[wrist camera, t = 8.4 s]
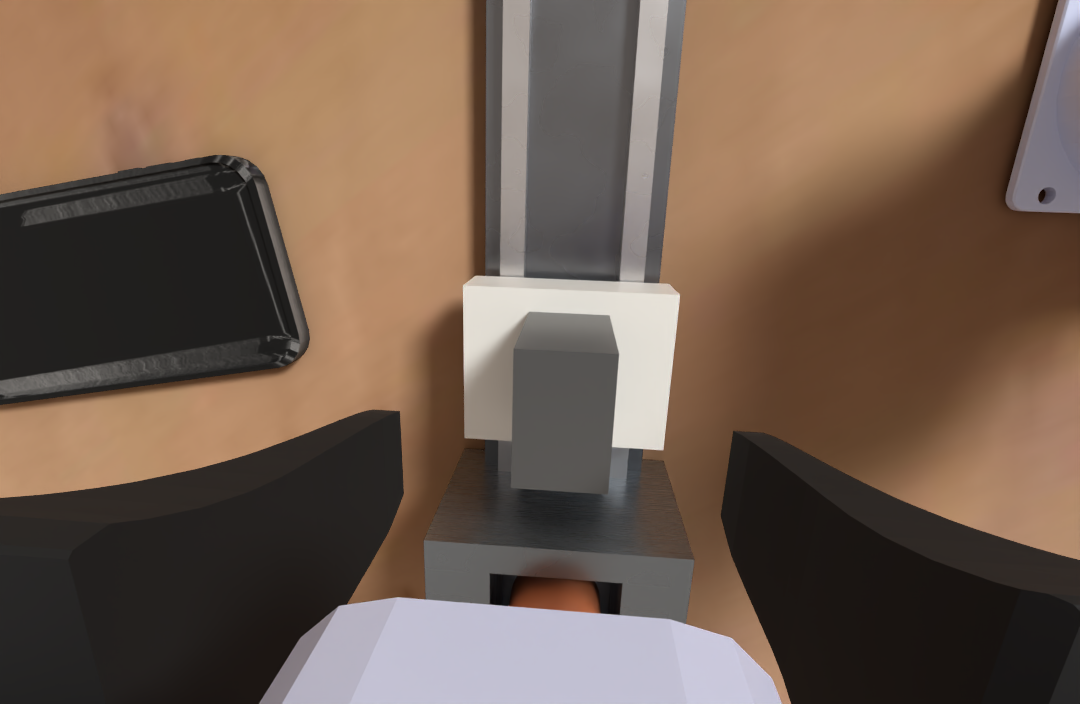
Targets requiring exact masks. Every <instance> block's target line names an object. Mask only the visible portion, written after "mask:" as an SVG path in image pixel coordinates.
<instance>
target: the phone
mask: <svg viewBox="0 0 1080 704" xmlns="http://www.w3.org/2000/svg"><path fill="white" fill-rule="evenodd" d="M309 340H310V336H309V329H308V325H307V322H306V318H305V315H304V311H303V308H302V304H301V301H300V297H299V294H298V290H297V286H296V283H295V279H294V276H293V272H292V269H291V265H290V262H289V258H288V255H287V251H286V247H285V244H284V240H283V237H282V233H281V230H280V226H279V223H278V219H277V216H276V212H275V208H274V205H273V201H272V198H271V194H270V191H269V187H268V184H267V182H266V180H265V177H264V175H263V174H262V172H261V171H260V170H259V169H258V168H257V166H255V165H254V164H253V163H251V162H250V161H248V160H246V159H243V158H240V157H236V156H227V155H213V156H207V157H202V158H194V159H189V160H185V161H180V162H175V163H165V164H159V165H154V166H148V167H146V168H134V169H129V170H123V171H118V173H115V174H109V175H104V176H99V177H93V178H88V179H82V180H77V181H71V182H66V183H60V184H55V185H50V186H44V187H39V188H33V189H28V190H22V191H17V192H12V193H6V194H1V195H0V405H3V404H10V403H18V402H25V401H33V400H40V399H48V398H55V397H63V396H70V395H78V394H85V393H93V392H100V391H108V390H115V389H123V388H130V387H138V386H145V385H153V384H160V383H168V382H175V381H183V380H190V379H198V378H205V377H213V376H220V375H228V374H235V373H243V372H250V371H258V370H265V369H273V368H279V367H283V366H286V365H288V364H290V363H292V362H293V361H295V360H297V359H298V358H300V357H301V356H302V355H303V354H304V353H305V351H306V350H307V348H308V345H309Z"/></svg>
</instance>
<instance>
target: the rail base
mask: <svg viewBox="0 0 1080 704" xmlns="http://www.w3.org/2000/svg"><path fill="white" fill-rule="evenodd" d="M685 10H686V0H486V253H485V276H497V277H520V278H544V279H567V280H590V281H613V282H637V283H659V279H660V269H661V258H662V248H663V238H664V227H665V217H666V207H667V196H668V186H669V176H670V165H671V155H672V144H673V134H674V124H675V113H676V103H677V93H678V82H679V72H680V62H681V51H682V41H683V31H684V20H685ZM642 455H643V449H635V448H619V447H612V452H611V465H610V478H609V491H608V494H593V493H578V492H563V491H548V490H533V489H518V488H511V457H512V441H504V440H487V439H485V450H479V449H464V451H463V454H462V456H461V458H460V460H459V463H458V465H457V467H456V469H455V471H454V474H453V476H452V478H451V480H450V483H449V485H448V487H447V489H446V492H445V494H444V496H443V498H442V500H441V503H440V505H439V507H438V509H437V512H436V514H435V516H434V518H433V521H432V523H431V525H430V527H429V530H428V532H427V534H426V536H425V538H424V564H425V592H426V600H438V601H450V602H463V603H475V604H488V605H500V606H509V601H510V595H511V589H512V585H513V583H514V580H515V579H516V577H517V576H518V575H519V576H532V577H545V578H559V579H572V580H585V581H595V582H596V584H597V586H598V590H599V594H600V611H601V614H612V615H624V616H636V617H649V618H661V619H671V620H674V621H677V622H681V623H684V624H686V619H687V612H688V604H689V597H690V589H691V582H692V575H693V567H694V557H693V553H692V550H691V547H690V544H689V541H688V538H687V534H686V531H685V528H684V525H683V522H682V518H681V515H680V512H679V509H678V506H677V503H676V499H675V496H674V493H673V490H672V487H671V483H670V480H669V477H668V474H667V471H666V468H665V464H664V461H656V460H642Z"/></svg>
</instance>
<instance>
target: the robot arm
mask: <svg viewBox="0 0 1080 704" xmlns="http://www.w3.org/2000/svg"><path fill="white" fill-rule="evenodd" d="M1043 189H1044V190H1045V191H1046V196H1045V198H1044V200H1043V201H1041V202H1039V200H1038V195H1039V193H1040V191H1041V190H1043ZM1005 201H1006V203H1007V206H1008V207H1009V208H1010V209H1012V210H1016V211H1031V212H1061V213H1080V0H1059V1H1058V4H1057V8H1056V12H1055V15H1054V19H1053V23H1052V26H1051V30H1050V34H1049V37H1048V41H1047V45H1046V48H1045V52H1044V56H1043V60H1042V63H1041V67H1040V71H1039V74H1038V78H1037V82H1036V85H1035V89H1034V93H1033V96H1032V100H1031V104H1030V107H1029V111H1028V115H1027V119H1026V122H1025V126H1024V130H1023V133H1022V137H1021V141H1020V144H1019V148H1018V152H1017V155H1016V159H1015V163H1014V166H1013V170H1012V174H1011V178H1010V181H1009V185H1008V189H1007V192H1006V200H1005ZM403 494H404V490H403V469H402V448H401V427H400V411H386V410H369V411H364V412H361V413H358V414H355V415H352V416H349V417H347V418H344V419H341V420H339V421H336V422H334V423H331V424H329V425H326V426H324V427H321V428H319V429H316V430H314V431H311V432H309V433H306V434H304V435H301V436H299V437H296V438H293V439H290V440H288V441H285V442H282V443H279V444H277V445H274V446H271V447H268V448H266V449H263V450H260V451H257V452H254V453H251V454H248V455H245V456H242V457H239V458H235V459H232V460H228V461H225V462H221V463H217V464H214V465H210V466H206V467H203V468H199V469H195V470H190V471H186V472H181V473H176V474H171V475H166V476H162V477H157V478H152V479H147V480H142V481H138V482H132V483H126V484H120V485H113V486H107V487H101V488H93V489H86V490H78V491H70V492H63V493H54V494H44V495H34V496H21V497H9V498H0V704H782V703H781V700H780V698H779V695H778V693H777V690H776V687H775V685H774V682H773V680H772V678H771V677H770V676H769V675H768V674H767V673H766V672H765V671H764V670H763V669H762V668H761V667H760V666H759V665H758V664H757V663H756V662H755V661H754V660H753V659H752V658H751V657H750V656H749V655H748V654H747V653H746V652H745V651H744V650H743V649H742V648H741V647H740V646H739V645H738V644H737V643H736V642H735V641H734V640H733V639H732V638H730V637H727V636H723V635H720V634H717V633H713V632H710V631H707V630H704V629H700V628H697V627H694V626H690V625H687V624H684V623H681V622H677V621H674V620H671V619H661V618H649V617H636V616H624V615H612V614H599V613H587V612H574V611H562V610H550V609H537V608H525V607H512V606H500V605H488V604H475V603H463V602H450V601H438V600H426V599H413V598H401V597H396V598H389V599H382V600H376V601H369V602H362V603H355V604H348V605H347V603H348V601H349V600H350V598H351V596H352V595H353V593H354V591H355V589H356V588H357V586H358V584H359V583H360V581H361V579H362V577H363V576H364V574H365V572H366V571H367V569H368V567H369V566H370V564H371V562H372V560H373V559H374V557H375V555H376V553H377V552H378V550H379V548H380V546H381V545H382V543H383V541H384V539H385V537H386V536H387V534H388V532H389V530H390V527H391V525H392V523H393V520H394V518H395V515H396V513H397V510H398V507H399V505H400V502H401V499H402V497H403ZM721 518H722V522H723V526H724V530H725V534H726V538H727V542H728V545H729V549H730V552H731V556H732V558H733V561H734V563H735V566H736V568H737V570H738V573H739V575H740V577H741V580H742V582H743V584H744V587H745V589H746V591H747V594H748V596H749V598H750V600H751V603H752V605H753V607H754V610H755V612H756V614H757V616H758V619H759V621H760V623H761V626H762V628H763V630H764V632H765V635H766V637H767V639H768V642H769V644H770V646H771V648H772V651H773V653H774V656H775V658H776V661H777V663H778V666H779V669H780V671H781V674H782V676H783V679H784V682H785V686H786V689H787V692H788V695H789V698H790V701H791V704H1080V560H1077V559H1073V558H1069V557H1065V556H1061V555H1058V554H1054V553H1051V552H1047V551H1044V550H1040V549H1037V548H1033V547H1030V546H1026V545H1023V544H1020V543H1017V542H1014V541H1010V540H1007V539H1004V538H1001V537H998V536H995V535H992V534H989V533H986V532H983V531H979V530H976V529H973V528H971V527H968V526H965V525H962V524H959V523H957V522H954V521H951V520H948V519H946V518H943V517H941V516H938V515H936V514H933V513H931V512H928V511H926V510H923V509H921V508H918V507H916V506H913V505H911V504H908V503H906V502H904V501H901V500H899V499H897V498H894V497H892V496H890V495H888V494H886V493H884V492H882V491H880V490H877V489H875V488H873V487H871V486H869V485H867V484H865V483H863V482H861V481H859V480H857V479H855V478H853V477H851V476H849V475H847V474H845V473H843V472H841V471H839V470H837V469H835V468H833V467H831V466H829V465H828V464H826V463H824V462H822V461H820V460H818V459H816V458H814V457H813V456H811V455H809V454H807V453H805V452H803V451H801V450H800V449H798V448H796V447H794V446H792V445H790V444H788V443H786V442H784V441H782V440H780V439H778V438H776V437H773V436H771V435H768V434H765V433H758V432H741V431H733V437H732V444H731V451H730V458H729V464H728V471H727V478H726V484H725V491H724V498H723V504H722V511H721Z"/></svg>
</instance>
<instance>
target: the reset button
mask: <svg viewBox="0 0 1080 704" xmlns="http://www.w3.org/2000/svg"><path fill="white" fill-rule="evenodd" d="M509 606H512V607H525V608H537V609H550V610H562V611H574V612H587V613H599V614H601V611H600V594H599V590H598V586H597V584H596V582H595V581H585V580H572V579H559V578H545V577H532V576H519V575H518V576H517V577H516V579H515V580H514V583H513V585H512V589H511V595H510V601H509Z"/></svg>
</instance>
